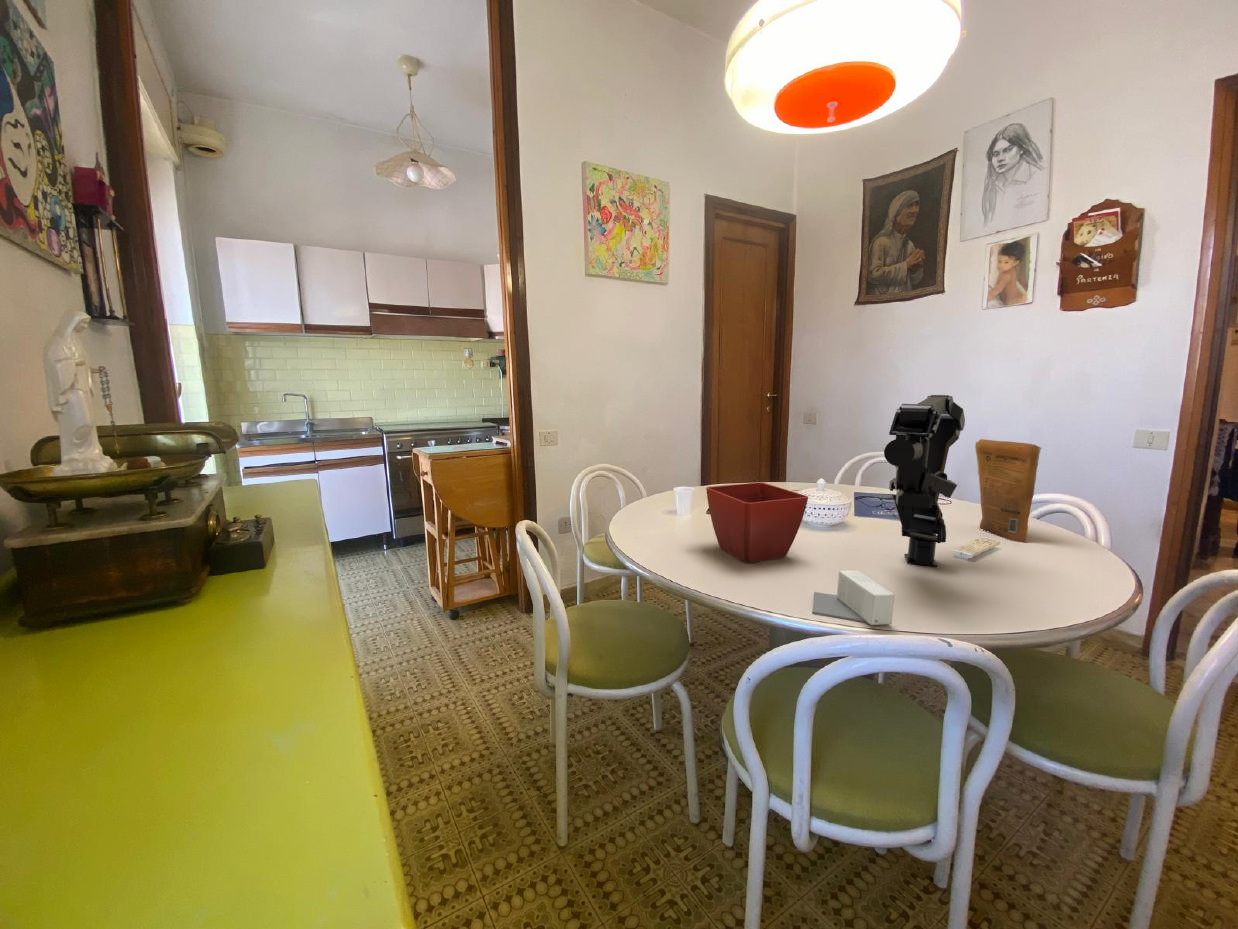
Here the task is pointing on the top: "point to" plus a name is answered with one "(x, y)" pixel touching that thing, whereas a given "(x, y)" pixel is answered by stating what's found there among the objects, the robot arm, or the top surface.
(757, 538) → the plant pot
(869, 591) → the skincare box
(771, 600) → the top surface
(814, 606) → the mat
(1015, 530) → the pancake mix bag
